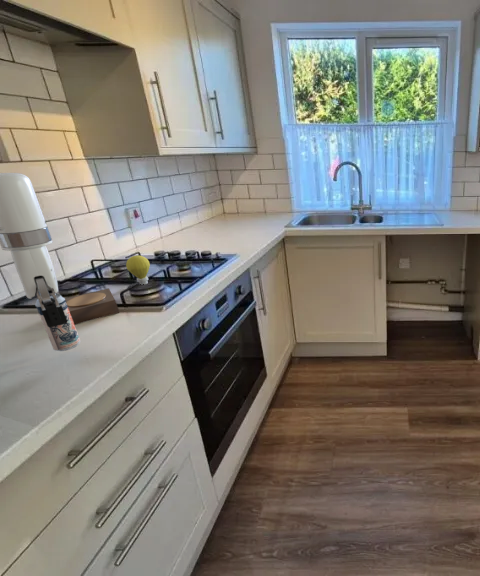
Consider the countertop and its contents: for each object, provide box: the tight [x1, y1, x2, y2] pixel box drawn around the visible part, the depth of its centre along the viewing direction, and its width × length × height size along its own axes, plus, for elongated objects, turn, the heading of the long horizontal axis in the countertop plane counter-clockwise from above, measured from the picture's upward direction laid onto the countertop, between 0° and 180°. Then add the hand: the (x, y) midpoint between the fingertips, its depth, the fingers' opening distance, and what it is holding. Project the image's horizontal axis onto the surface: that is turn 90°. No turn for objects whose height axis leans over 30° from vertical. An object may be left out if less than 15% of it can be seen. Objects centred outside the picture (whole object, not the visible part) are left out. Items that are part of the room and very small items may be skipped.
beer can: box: [34, 293, 81, 352], centre depth 79 cm, size 5×5×12 cm
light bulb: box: [125, 254, 151, 286], centre depth 122 cm, size 7×7×10 cm
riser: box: [64, 288, 120, 325], centre depth 103 cm, size 12×12×4 cm
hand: (57, 319), depth 78 cm, fingers closed on beer can, 4 cm apart
